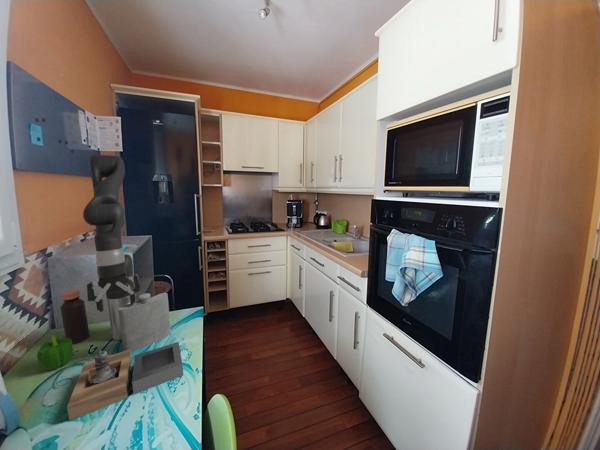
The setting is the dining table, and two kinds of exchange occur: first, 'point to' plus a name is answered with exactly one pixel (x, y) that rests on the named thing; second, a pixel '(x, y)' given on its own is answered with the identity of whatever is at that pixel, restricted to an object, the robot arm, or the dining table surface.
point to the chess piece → (102, 368)
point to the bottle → (74, 316)
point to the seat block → (156, 367)
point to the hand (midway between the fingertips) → (117, 307)
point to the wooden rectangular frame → (100, 386)
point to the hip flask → (144, 321)
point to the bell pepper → (55, 353)
